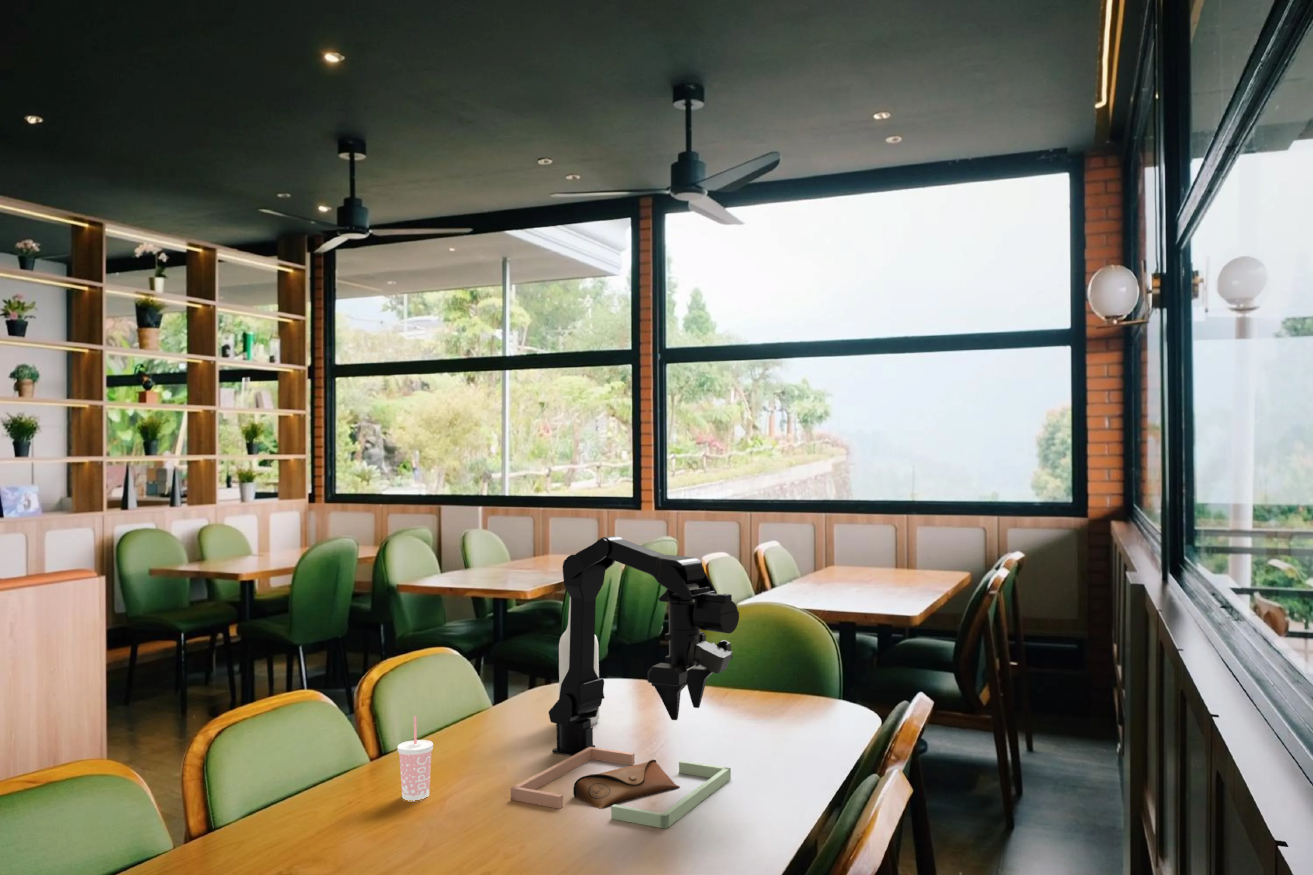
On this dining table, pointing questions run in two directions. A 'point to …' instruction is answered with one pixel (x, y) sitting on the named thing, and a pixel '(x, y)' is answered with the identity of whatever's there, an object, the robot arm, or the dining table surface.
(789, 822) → the dining table surface
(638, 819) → the mint green arch
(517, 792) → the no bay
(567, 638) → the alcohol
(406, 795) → the beverage cup
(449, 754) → the dining table surface
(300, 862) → the dining table surface
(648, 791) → the sunglasses case
